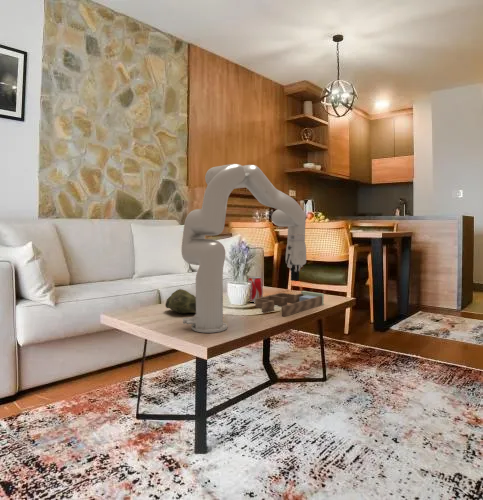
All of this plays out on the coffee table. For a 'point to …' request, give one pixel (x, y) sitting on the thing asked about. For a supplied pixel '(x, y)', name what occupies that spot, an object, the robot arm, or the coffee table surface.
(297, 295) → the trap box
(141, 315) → the coffee table surface
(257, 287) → the soda can
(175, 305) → the decorative rock
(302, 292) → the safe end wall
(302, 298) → the block
